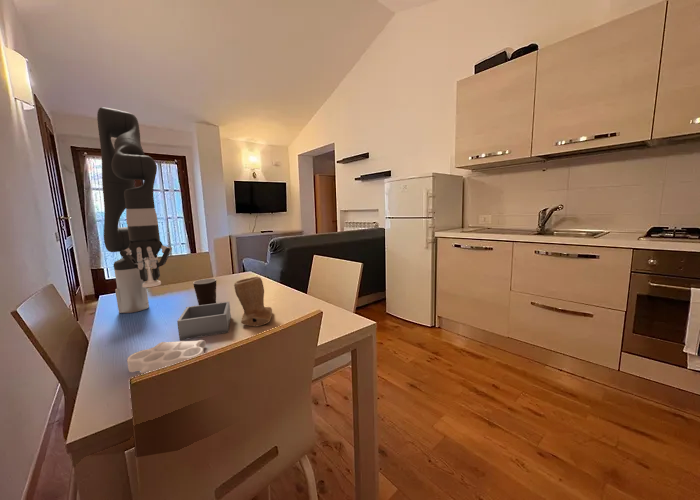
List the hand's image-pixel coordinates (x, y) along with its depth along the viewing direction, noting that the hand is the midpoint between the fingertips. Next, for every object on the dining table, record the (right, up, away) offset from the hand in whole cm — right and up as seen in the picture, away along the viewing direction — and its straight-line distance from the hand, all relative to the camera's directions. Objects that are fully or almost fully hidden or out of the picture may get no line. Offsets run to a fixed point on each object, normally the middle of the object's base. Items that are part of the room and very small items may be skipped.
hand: (150, 280), depth 90 cm
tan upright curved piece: (+28, -15, +13) cm, 34 cm away
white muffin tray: (+15, -20, -14) cm, 29 cm away
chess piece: (0, -2, 0) cm, 2 cm away
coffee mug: (+2, -13, +32) cm, 35 cm away
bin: (+14, -17, +7) cm, 23 cm away
